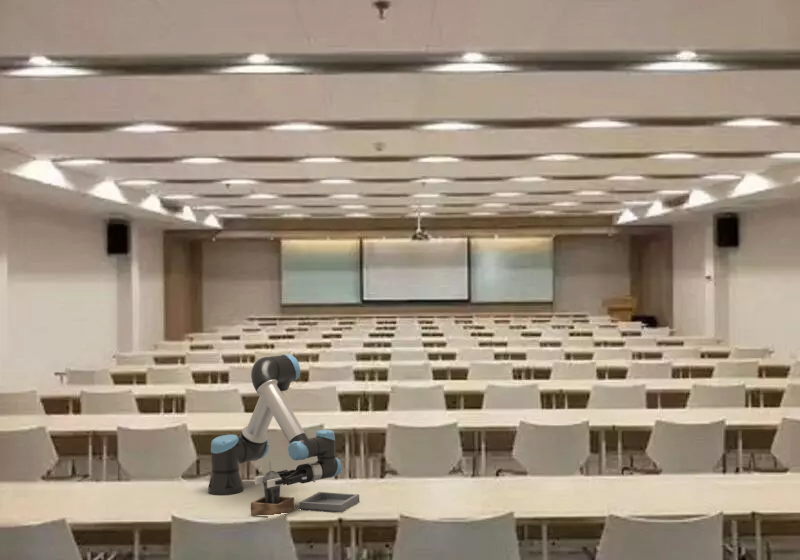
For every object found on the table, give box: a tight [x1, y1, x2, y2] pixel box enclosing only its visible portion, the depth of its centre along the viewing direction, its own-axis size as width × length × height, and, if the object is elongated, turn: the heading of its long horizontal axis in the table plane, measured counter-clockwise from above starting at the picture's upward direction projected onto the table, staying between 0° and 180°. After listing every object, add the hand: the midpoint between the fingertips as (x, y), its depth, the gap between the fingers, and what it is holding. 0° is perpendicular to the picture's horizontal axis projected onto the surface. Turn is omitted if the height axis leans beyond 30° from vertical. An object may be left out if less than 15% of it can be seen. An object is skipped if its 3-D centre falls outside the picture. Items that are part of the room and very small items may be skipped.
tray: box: [298, 491, 360, 513], centre depth 391 cm, size 18×18×3 cm
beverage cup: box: [262, 460, 282, 504], centre depth 382 cm, size 7×7×20 cm
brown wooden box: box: [250, 495, 295, 516], centre depth 382 cm, size 12×12×5 cm
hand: (261, 482), depth 379 cm, fingers closed on beverage cup, 7 cm apart
